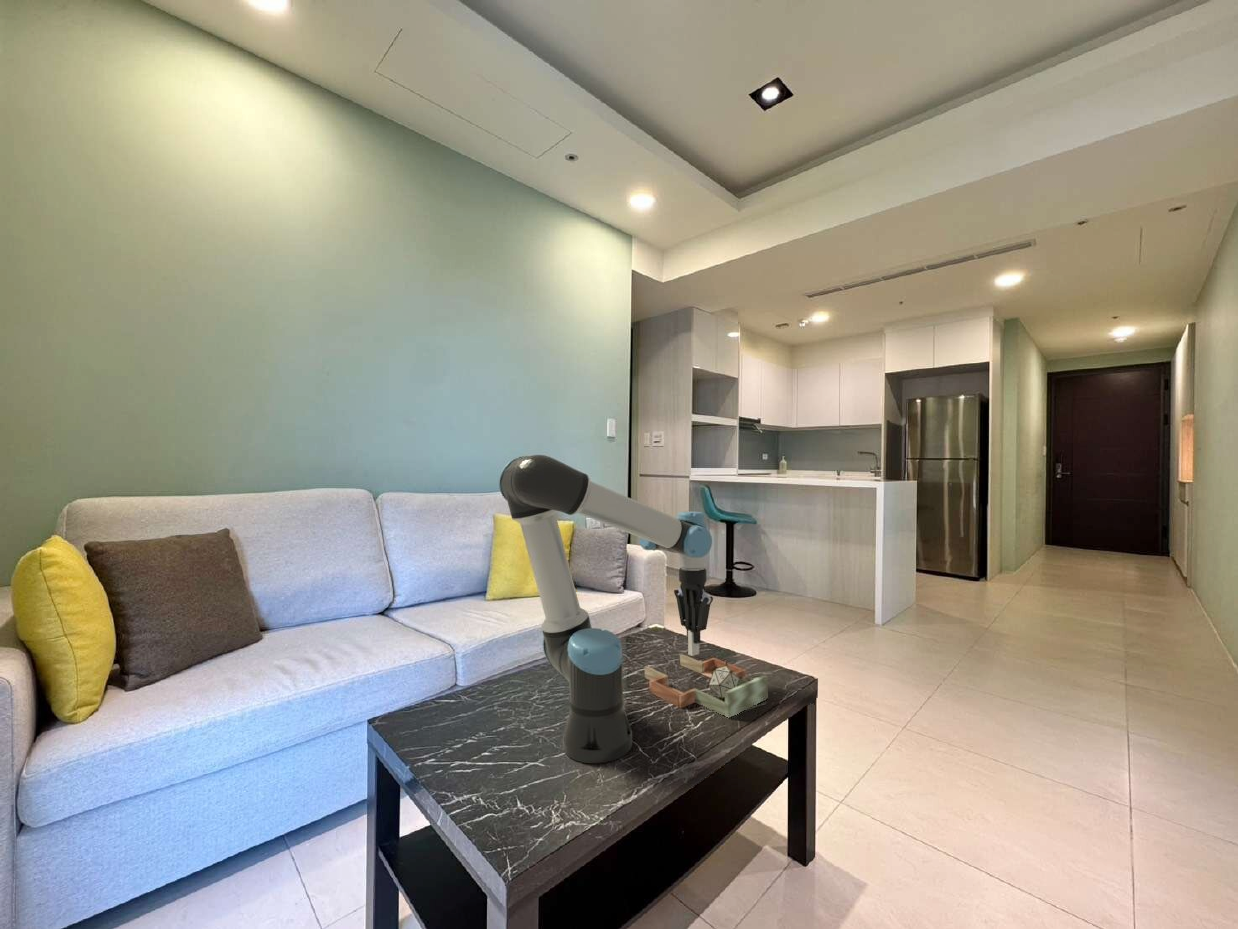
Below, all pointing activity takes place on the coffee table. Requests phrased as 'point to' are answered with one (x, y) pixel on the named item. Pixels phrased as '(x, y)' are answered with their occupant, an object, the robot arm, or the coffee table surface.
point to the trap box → (734, 698)
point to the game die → (723, 680)
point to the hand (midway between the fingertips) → (693, 654)
